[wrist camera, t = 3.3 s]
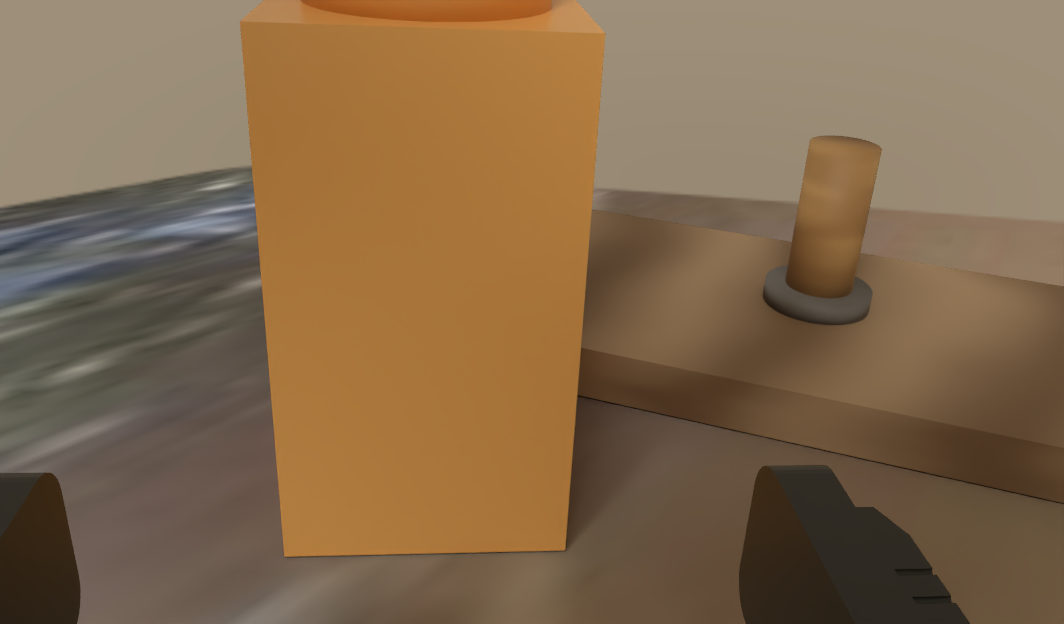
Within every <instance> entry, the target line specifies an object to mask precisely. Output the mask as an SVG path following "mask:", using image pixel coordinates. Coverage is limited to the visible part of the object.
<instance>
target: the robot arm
mask: <svg viewBox="0 0 1064 624" xmlns="http://www.w3.org/2000/svg"><path fill="white" fill-rule="evenodd" d="M739 591H740V600H741V607H742V612H743V615H744V619H745V622H746V624H970V623H969V622H968V620H967V619H966V617H965V616H964V614H963V613H962V611H961V610H960V608H959V607H958V605H957V604H956V603H952V602H951V595H950V594H949V592H948V591H947V589H946V588H945V586H944V585H943V583H942V582H941V581H940V579H939V578H938V576H937V575H933V574H932V567H931V566H930V564H929V563H928V562H927V560H926V559H925V557H924V556H923V554H922V553H921V551H920V550H919V548H918V547H917V545H916V544H915V542H914V541H913V540H912V538H911V537H910V535H909V534H907V533H906V532H905V531H903V530H902V529H901V528H900V527H898V526H897V525H896V524H894V523H893V522H892V521H891V520H889V519H888V518H887V517H885V516H884V515H883V514H882V513H880V512H879V511H878V510H876V509H875V508H874V507H855V506H854V504H853V503H852V501H851V500H850V498H849V496H848V495H847V493H846V492H845V490H844V489H843V487H842V485H841V484H840V482H839V481H838V479H837V477H836V476H835V474H834V473H833V471H832V470H831V469H830V468H829V467H828V466H825V465H799V466H763V467H762V468H761V469H760V470H759V472H758V474H757V477H756V481H755V486H754V492H753V497H752V503H751V508H750V514H749V519H748V525H747V530H746V536H745V541H744V547H743V553H742V558H741V564H740V572H739ZM79 609H80V581H79V575H78V570H77V565H76V560H75V555H74V550H73V545H72V541H71V536H70V531H69V526H68V521H67V516H66V511H65V506H64V501H63V496H62V492H61V488H60V484H59V482H58V480H57V478H56V477H55V476H54V475H53V474H51V473H0V624H77V621H78V616H79Z"/></svg>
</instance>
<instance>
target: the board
mask: <svg viewBox="0 0 1064 624" xmlns="http://www.w3.org/2000/svg"><path fill="white" fill-rule="evenodd" d="M881 151H882V149H881V147H880V146H878V145H876V144H874V143H872V142H869V141H866V140H862V139H857V138H851V137H844V136H819V137H814V138H812V139H811V140H810V143H809V149H808V155H807V160H806V166H805V172H804V177H803V183H802V189H801V194H800V200H799V205H798V211H797V217H796V222H795V228H794V234H793V239H792V242H788V241H782V240H776V239H770V238H763V237H757V236H751V235H745V234H739V233H733V232H727V231H721V230H714V229H708V228H702V227H696V226H690V225H684V224H678V223H672V222H665V221H659V220H653V219H647V218H641V217H635V216H629V215H623V214H616V213H610V212H604V211H598V210H592V212H591V225H590V237H589V250H588V263H587V276H586V289H585V302H584V314H583V327H582V340H581V353H580V366H579V379H578V392H577V395H580V396H584V397H589V398H593V399H598V400H602V401H607V402H611V403H616V404H620V405H625V406H629V407H634V408H638V409H643V410H647V411H652V412H656V413H661V414H665V415H670V416H674V417H679V418H683V419H688V420H692V421H697V422H701V423H706V424H710V425H715V426H719V427H724V428H728V429H733V430H737V431H742V432H746V433H751V434H755V435H759V436H764V437H768V438H773V439H777V440H782V441H786V442H791V443H795V444H800V445H804V446H809V447H813V448H818V449H822V450H827V451H831V452H836V453H840V454H845V455H849V456H854V457H858V458H863V459H867V460H872V461H876V462H881V463H885V464H890V465H894V466H899V467H903V468H908V469H912V470H917V471H921V472H926V473H930V474H935V475H939V476H944V477H948V478H953V479H957V480H962V481H966V482H971V483H975V484H980V485H984V486H989V487H993V488H998V489H1002V490H1007V491H1011V492H1016V493H1020V494H1025V495H1029V496H1034V497H1038V498H1043V499H1047V500H1052V501H1056V502H1061V503H1064V287H1063V286H1057V285H1051V284H1045V283H1039V282H1033V281H1027V280H1021V279H1014V278H1008V277H1002V276H996V275H990V274H984V273H978V272H972V271H965V270H959V269H953V268H947V267H941V266H935V265H929V264H923V263H916V262H910V261H904V260H898V259H892V258H886V257H880V256H874V255H868V254H861V253H860V251H861V246H862V241H863V237H864V232H865V227H866V222H867V218H868V213H869V208H870V203H871V198H872V194H873V189H874V184H875V180H876V175H877V170H878V165H879V161H880V156H881Z"/></svg>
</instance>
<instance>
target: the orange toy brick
mask: <svg viewBox="0 0 1064 624" xmlns="http://www.w3.org/2000/svg"><path fill="white" fill-rule="evenodd" d="M240 26H241V39H242V51H243V63H244V75H245V87H246V99H247V112H248V124H249V136H250V147H251V159H252V172H253V184H254V196H255V208H256V220H257V232H258V244H259V256H260V268H261V280H262V292H263V304H264V316H265V328H266V340H267V352H268V364H269V376H270V388H271V401H272V413H273V425H274V437H275V449H276V461H277V473H278V485H279V497H280V509H281V521H282V533H283V545H284V557H295V556H340V555H385V554H430V553H475V552H520V551H565V546H566V533H567V520H568V507H569V494H570V481H571V469H572V456H573V443H574V430H575V417H576V404H577V392H578V379H579V366H580V353H581V340H582V327H583V314H584V302H585V289H586V276H587V263H588V250H589V237H590V225H591V212H592V199H593V186H594V172H595V159H596V148H597V135H598V122H599V109H600V96H601V83H602V70H603V57H604V43H605V32H604V31H603V30H602V29H601V28H600V27H599V26H598V25H597V24H596V22H595V21H594V20H593V19H592V18H591V17H590V16H589V15H588V14H587V13H586V11H585V10H584V9H583V8H582V7H581V6H580V5H579V4H578V2H577V1H576V0H263V2H261V3H260V4H259V5H258V6H257V7H256V8H255V9H253V10H252V11H251V12H250V13H249V14H248V15H247V16H246V17H244V19H242V20H241V21H240Z"/></svg>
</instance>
